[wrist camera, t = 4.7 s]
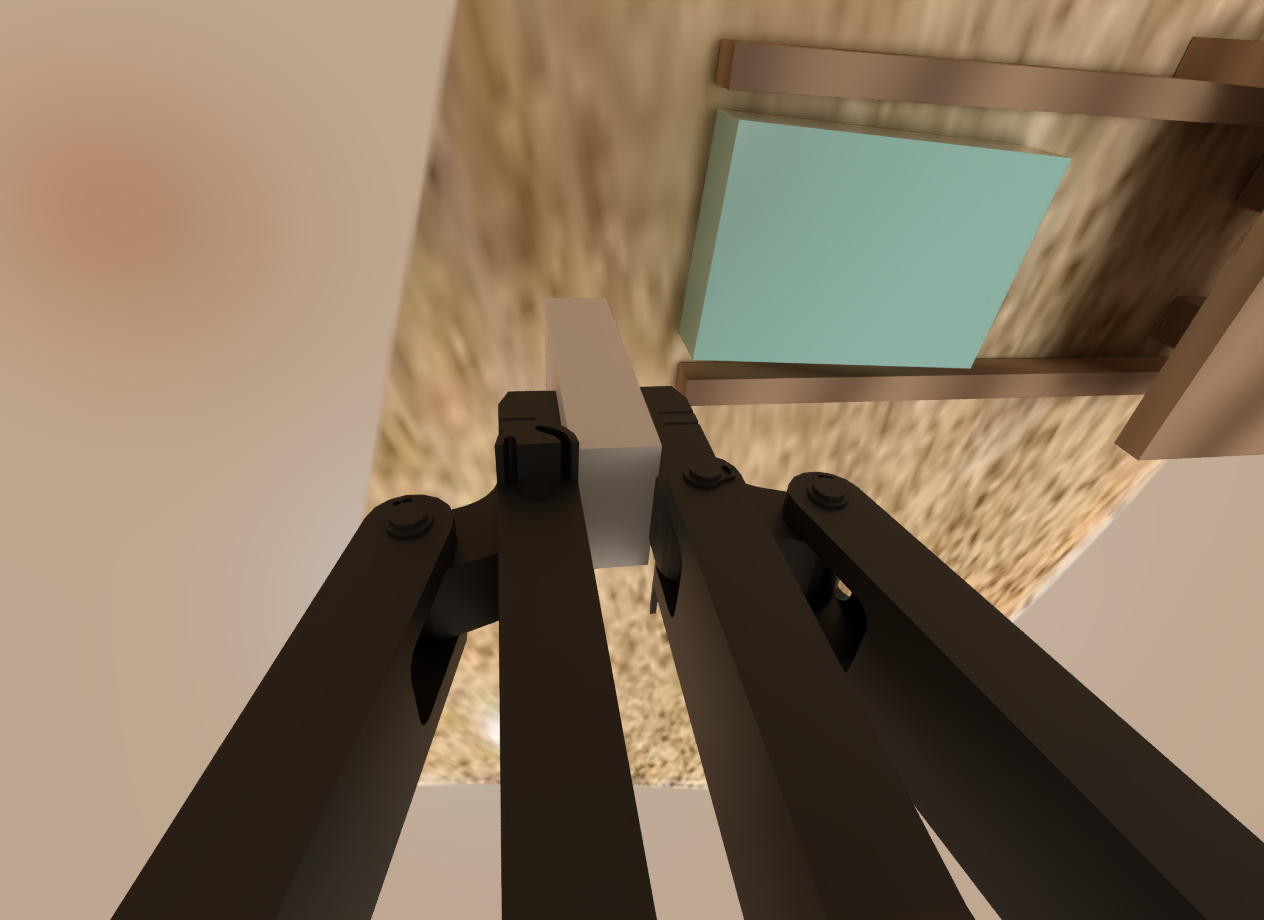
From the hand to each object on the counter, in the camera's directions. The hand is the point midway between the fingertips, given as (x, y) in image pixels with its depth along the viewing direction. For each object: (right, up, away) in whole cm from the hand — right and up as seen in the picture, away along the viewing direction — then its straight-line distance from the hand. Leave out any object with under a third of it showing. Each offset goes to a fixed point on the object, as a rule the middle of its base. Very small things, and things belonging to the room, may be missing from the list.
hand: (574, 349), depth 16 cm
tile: (+10, +6, +9) cm, 14 cm away
